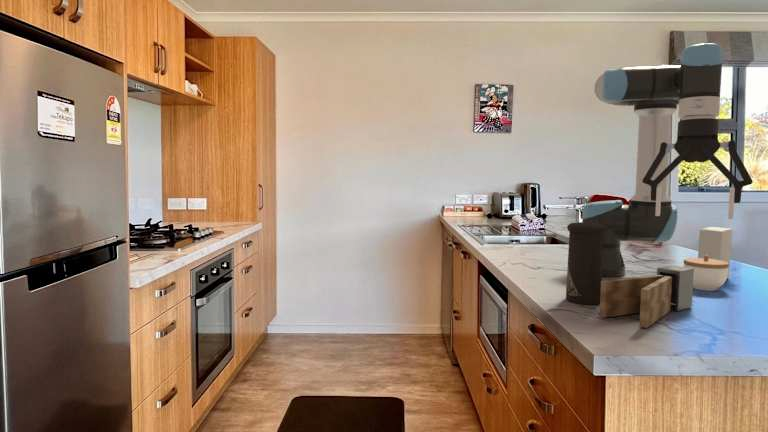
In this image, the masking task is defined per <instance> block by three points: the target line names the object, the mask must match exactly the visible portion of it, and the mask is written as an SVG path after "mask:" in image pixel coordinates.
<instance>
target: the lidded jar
mask: <svg viewBox="0 0 768 432" xmlns="http://www.w3.org/2000/svg"><path fill="white" fill-rule="evenodd" d="M683 267H688V268H694V275H693V289H695V290H700V291H708V292H710V291H711V292H714V291H717V290H718V289H719V288H720V287H722V286H723V285H724V284H725V282H726V281H727V279H726V278H727V275H728V267H729V263H728V262H725V261H721V260H715V259H708V255H704V258H698V257H687V258H684V259H683Z"/></svg>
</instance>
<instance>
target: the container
mask: <svg viewBox="0 0 768 432" xmlns="http://www.w3.org/2000/svg"><path fill="white" fill-rule="evenodd" d="M566 229H567V231H568V232H569V234H568V253H567V255H568V256H567V269H566V271H567V272H566V290H565V299H566V301H568V302H571V303H574V304H579V305H586V306H587V305H590V306H591V305H600V294H601V281H603V276H602V247H603V233H604V232H605V231H606V227H605V226H604V225H602V224H597V223H590V222H582V221H581V222H571V223H569V224H568V225H567V226H566Z"/></svg>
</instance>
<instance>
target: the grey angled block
mask: <svg viewBox="0 0 768 432" xmlns="http://www.w3.org/2000/svg"><path fill="white" fill-rule="evenodd" d="M656 275H662V276H669V277H672V288H671V305H672V304H673V305H674V307H675V308H674V311H675V312H681V311H683V310H686V309H690V308H692V306H693V289H694V288H693V275H694V268H688V267H684V266H681V265H675V264H674V265H673V264H671V265H670V264H669V265H665V266H660V267H657V268H656Z"/></svg>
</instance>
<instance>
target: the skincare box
mask: <svg viewBox="0 0 768 432" xmlns="http://www.w3.org/2000/svg"><path fill="white" fill-rule="evenodd" d="M698 236H699V237H698V250H697V258H704V255H708V259H715V260H721V261H725V262H728V263H729V267H728V275H727V278H726V280H727V279H730V269H731V252H732V238H733V228H729V227H718V226H709V227H704V228H700V229H699V235H698Z"/></svg>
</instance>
